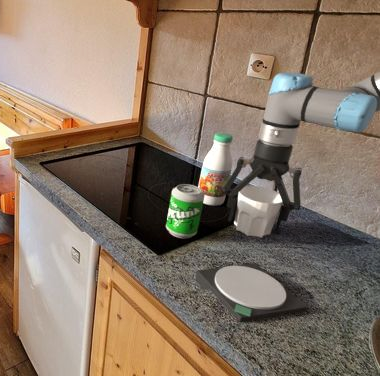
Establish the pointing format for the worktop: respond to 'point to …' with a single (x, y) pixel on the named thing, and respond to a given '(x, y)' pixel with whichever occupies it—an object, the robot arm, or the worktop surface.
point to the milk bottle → (216, 170)
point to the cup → (257, 210)
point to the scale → (249, 292)
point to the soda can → (185, 210)
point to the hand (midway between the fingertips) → (252, 224)
